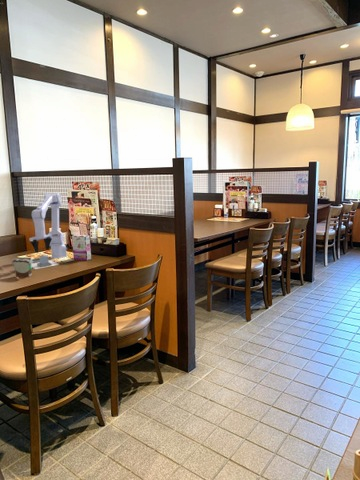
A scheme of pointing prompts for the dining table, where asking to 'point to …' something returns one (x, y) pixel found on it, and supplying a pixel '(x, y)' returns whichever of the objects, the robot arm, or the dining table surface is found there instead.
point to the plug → (43, 259)
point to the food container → (23, 266)
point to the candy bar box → (81, 247)
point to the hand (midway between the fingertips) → (42, 250)
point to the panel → (37, 265)
